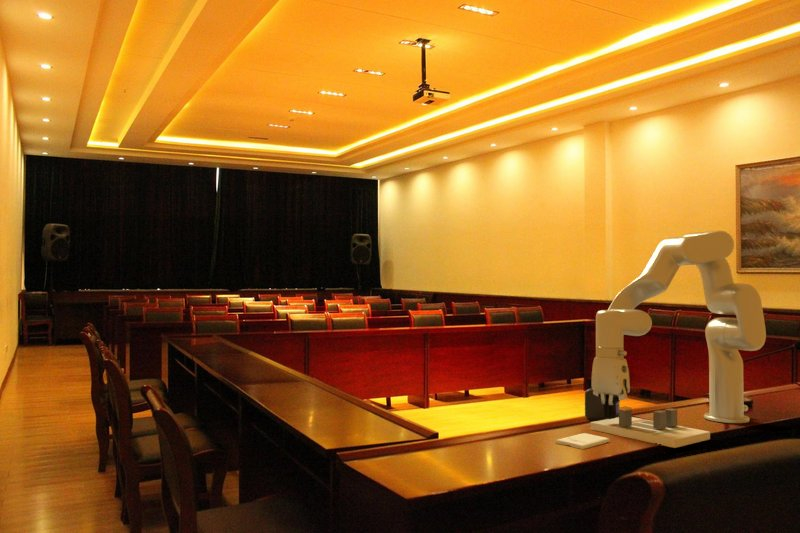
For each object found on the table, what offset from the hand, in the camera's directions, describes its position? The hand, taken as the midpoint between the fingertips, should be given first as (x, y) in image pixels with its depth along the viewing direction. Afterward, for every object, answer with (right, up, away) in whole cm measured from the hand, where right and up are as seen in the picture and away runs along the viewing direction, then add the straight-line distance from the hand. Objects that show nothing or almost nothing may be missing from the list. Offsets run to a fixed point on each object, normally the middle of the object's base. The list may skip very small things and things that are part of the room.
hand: (609, 418), depth 184 cm
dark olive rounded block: (+4, -5, +20) cm, 21 cm away
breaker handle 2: (+16, -1, -3) cm, 16 cm away
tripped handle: (+3, -1, -4) cm, 5 cm away
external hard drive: (-12, -4, -14) cm, 19 cm away
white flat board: (+10, -4, -4) cm, 11 cm away
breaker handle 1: (+12, -1, -7) cm, 13 cm away
